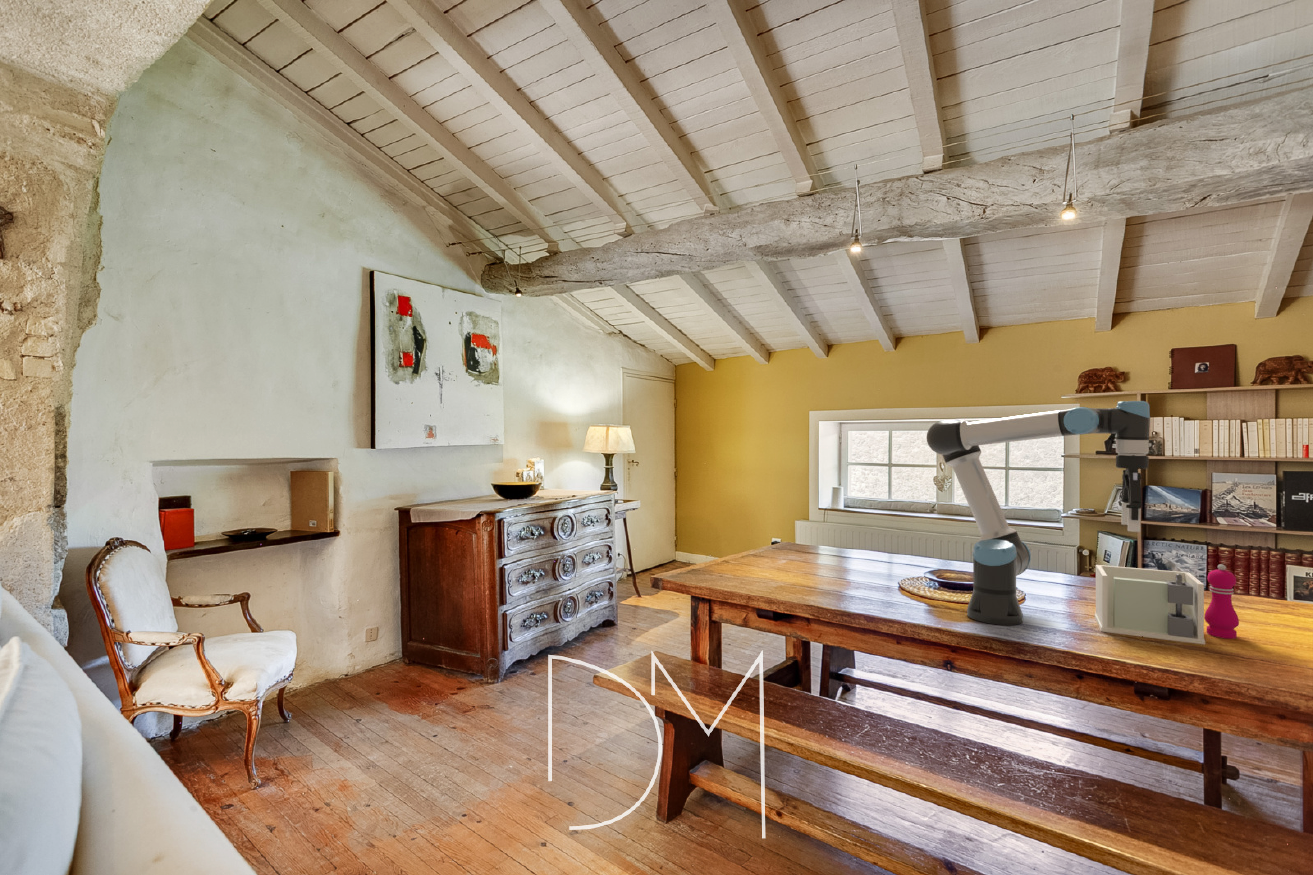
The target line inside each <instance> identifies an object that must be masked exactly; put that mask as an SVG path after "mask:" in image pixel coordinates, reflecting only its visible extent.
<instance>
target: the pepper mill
mask: <svg viewBox="0 0 1313 875" xmlns="http://www.w3.org/2000/svg"><path fill="white" fill-rule="evenodd" d="M1207 574H1208V575H1207V581H1208V583H1210V586H1209V591H1210V592H1211V601H1210V604H1209V605H1208V607H1207V609H1206V610H1205V611H1204V622H1206V623H1207V624H1208V625H1207V626H1206V633H1207V635H1208V636H1209V635H1210V636H1212V637H1215V638H1221V639H1228V640H1229V639H1231V640H1232V639H1237V630H1235V628H1238V626H1239V624H1240V621H1239V620H1240V619H1239V616H1238V614H1237V611H1236V610H1235V608H1234V606H1233V603H1232V602H1233V601H1232V595H1233V594H1234V588H1233V587H1234V586H1236V584H1237V578H1236V576H1235V574H1233V573H1232V572H1231V571H1228V570H1227V567H1226V565H1224V564H1223V563H1221V564H1218V565H1217V569H1214V570H1213V569H1212V570H1211V571H1209V572H1208V573H1207Z"/></svg>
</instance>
